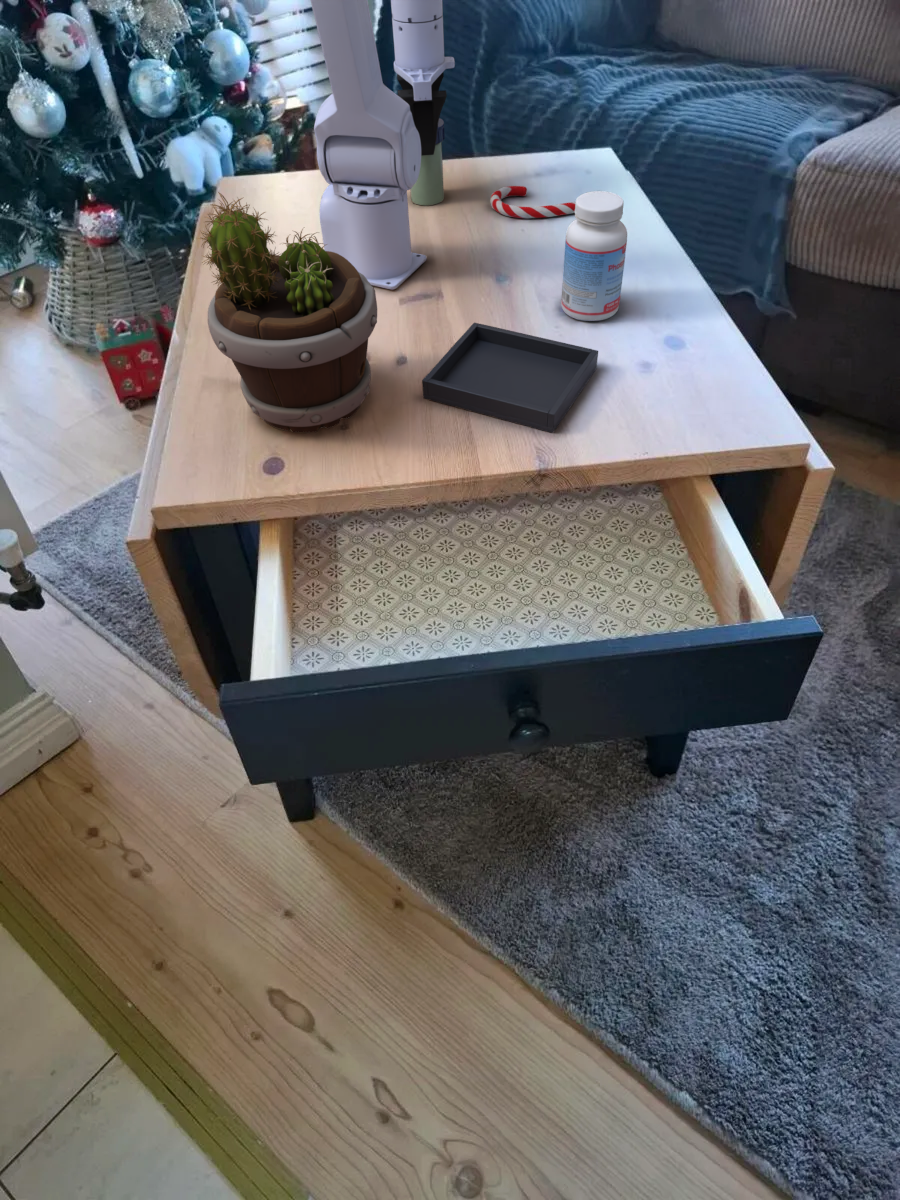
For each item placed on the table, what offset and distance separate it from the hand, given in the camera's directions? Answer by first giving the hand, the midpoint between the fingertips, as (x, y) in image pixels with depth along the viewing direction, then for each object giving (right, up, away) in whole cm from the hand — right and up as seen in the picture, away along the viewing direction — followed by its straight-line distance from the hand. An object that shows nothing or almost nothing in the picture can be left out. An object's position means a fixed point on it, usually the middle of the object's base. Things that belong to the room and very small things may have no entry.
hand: (424, 145), depth 104 cm
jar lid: (0, +2, -2) cm, 2 cm away
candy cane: (+16, -7, +2) cm, 17 cm away
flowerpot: (-10, -38, -25) cm, 46 cm away
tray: (+9, -36, -24) cm, 44 cm away
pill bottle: (+18, -26, -15) cm, 35 cm away
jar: (0, -4, +5) cm, 6 cm away
